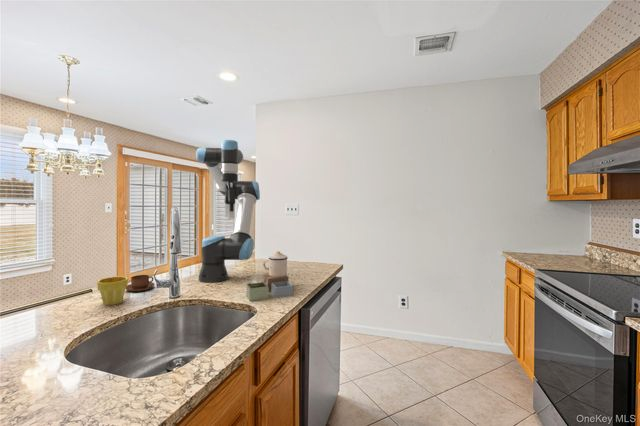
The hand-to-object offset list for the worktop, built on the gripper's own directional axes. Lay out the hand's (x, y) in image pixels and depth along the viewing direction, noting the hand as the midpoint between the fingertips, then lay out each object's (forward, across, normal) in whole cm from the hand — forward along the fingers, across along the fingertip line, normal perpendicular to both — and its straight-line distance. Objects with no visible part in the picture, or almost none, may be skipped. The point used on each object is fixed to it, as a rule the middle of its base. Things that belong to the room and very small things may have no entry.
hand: (229, 217), depth 143 cm
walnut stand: (+35, +8, +20) cm, 41 cm away
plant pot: (+35, +2, -47) cm, 59 cm away
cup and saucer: (+35, -15, -40) cm, 55 cm away
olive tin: (+35, +19, +10) cm, 41 cm away
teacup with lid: (+28, +8, +20) cm, 35 cm away
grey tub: (+35, +18, +21) cm, 44 cm away
